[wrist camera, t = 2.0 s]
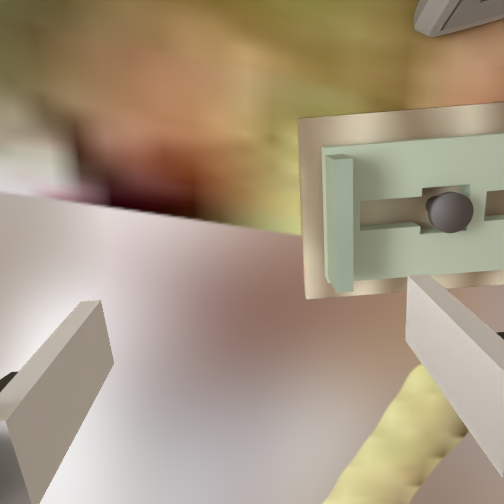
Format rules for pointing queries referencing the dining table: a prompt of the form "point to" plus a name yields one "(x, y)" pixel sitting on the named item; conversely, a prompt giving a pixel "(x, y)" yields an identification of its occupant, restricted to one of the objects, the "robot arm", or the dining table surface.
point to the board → (399, 209)
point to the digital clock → (454, 15)
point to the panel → (403, 186)
